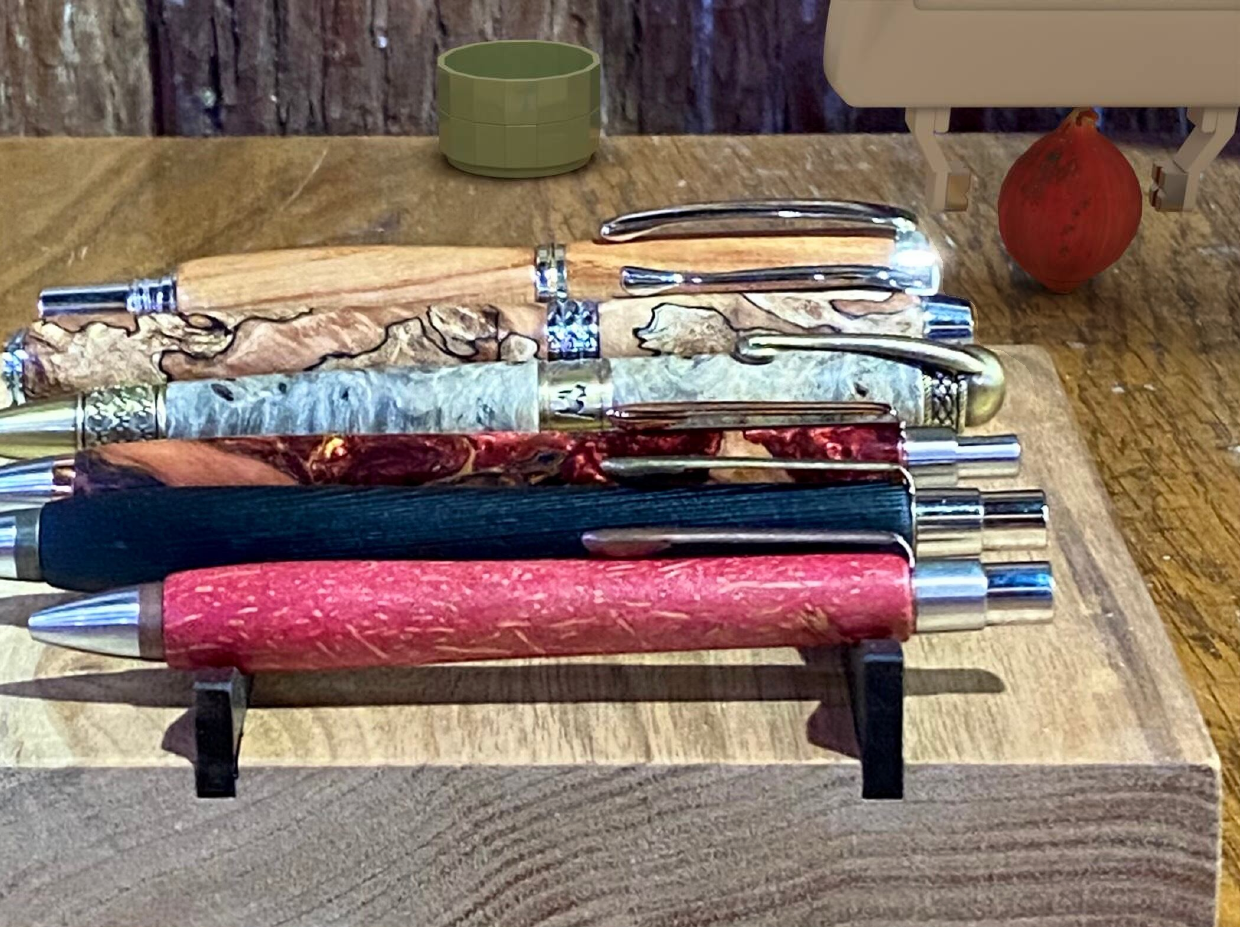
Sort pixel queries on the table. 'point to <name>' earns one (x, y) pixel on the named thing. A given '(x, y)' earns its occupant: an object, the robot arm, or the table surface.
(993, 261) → the table surface
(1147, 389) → the table surface
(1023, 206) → the onion
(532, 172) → the bowl
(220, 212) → the table surface
